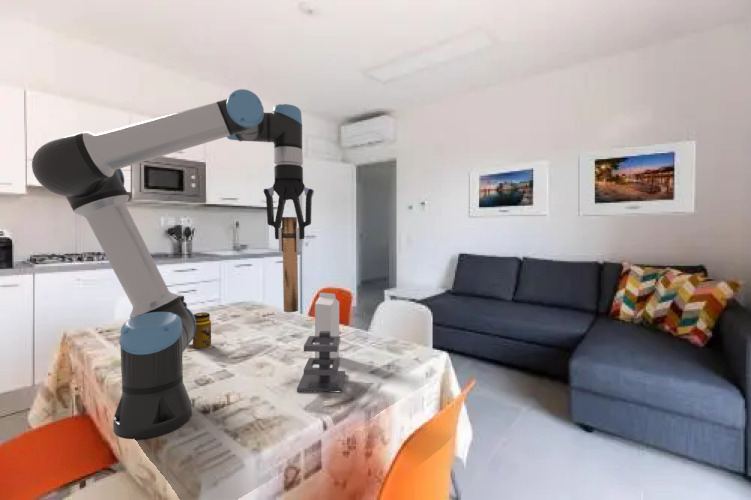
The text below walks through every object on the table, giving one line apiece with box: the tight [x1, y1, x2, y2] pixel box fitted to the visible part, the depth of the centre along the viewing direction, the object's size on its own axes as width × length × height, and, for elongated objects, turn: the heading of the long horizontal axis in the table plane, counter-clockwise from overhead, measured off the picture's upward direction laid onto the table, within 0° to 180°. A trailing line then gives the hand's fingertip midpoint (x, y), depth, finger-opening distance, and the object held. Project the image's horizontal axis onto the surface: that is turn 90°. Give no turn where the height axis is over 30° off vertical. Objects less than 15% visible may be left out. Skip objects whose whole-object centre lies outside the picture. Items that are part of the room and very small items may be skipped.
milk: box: [314, 292, 340, 358], centre depth 123 cm, size 6×6×22 cm
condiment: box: [185, 311, 214, 352], centre depth 133 cm, size 7×8×12 cm
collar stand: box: [296, 331, 346, 393], centre depth 104 cm, size 12×12×13 cm
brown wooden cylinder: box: [281, 216, 299, 313], centre depth 102 cm, size 4×4×26 cm
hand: (290, 251), depth 102 cm, fingers closed on brown wooden cylinder, 4 cm apart
